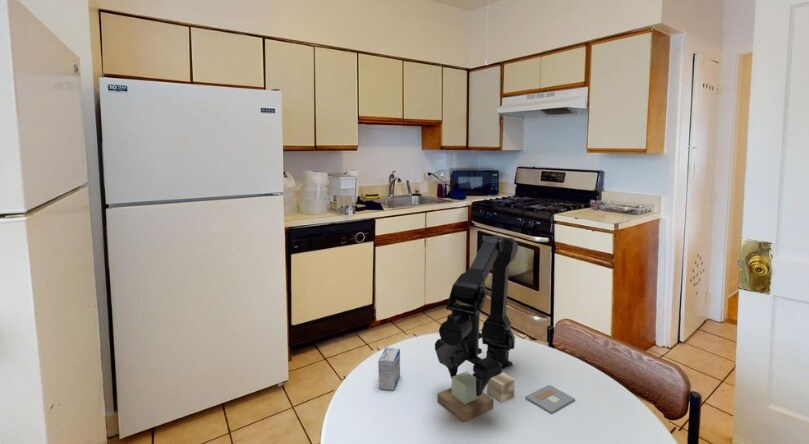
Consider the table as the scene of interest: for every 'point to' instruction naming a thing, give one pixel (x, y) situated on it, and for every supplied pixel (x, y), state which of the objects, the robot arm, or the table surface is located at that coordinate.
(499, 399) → the birch cube
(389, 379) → the medicine box
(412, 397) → the table surface
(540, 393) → the slate card
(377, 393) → the table surface
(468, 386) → the sage cube
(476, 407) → the walnut block
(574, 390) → the table surface
